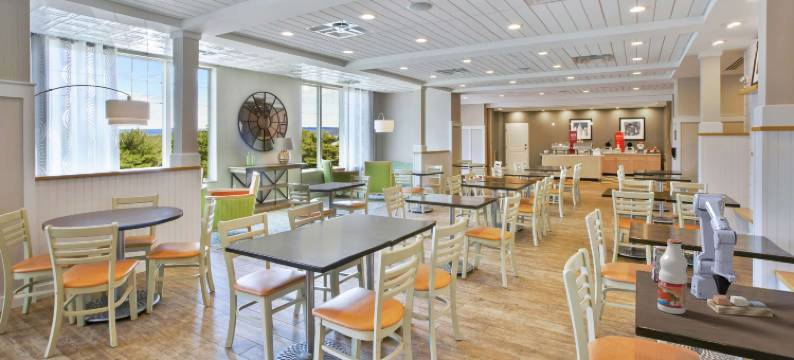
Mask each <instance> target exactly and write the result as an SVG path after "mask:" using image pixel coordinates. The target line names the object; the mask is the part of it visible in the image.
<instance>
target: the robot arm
mask: <svg viewBox="0 0 794 360" xmlns="http://www.w3.org/2000/svg"><path fill="white" fill-rule="evenodd" d="M723 205H724V197H723V195H722V194H720V193H712V194H711V193H695V194H694V195H693V197H692V209H693V213H694V214H696V215H697V216H698V219H699V228H700V230H699V231H700V241H701V253H700V254H698V255H697V256H696V257H695V259H694V261H695V263H694V270H695V273H696V274H694V275H692V276H691V287H690V293H691V294H692V295H693V296H695V297H696V298H697V299H700V300H707V299H713V295H724V296H726V295H727V294H728V293H727V292H728V289H729V288H730V287H731V286H730V285H732V283H736V282H737V277H736V276H735V275H736V274H737V272H735V271H733V269H734V267H733V266H734V253H735V250H734V249H735V246H736V245H737V243H738V233H737V231H736V230H735V229H733V228H731V226H730V223H729V220H728V219H727V218H726V217H725V216H723V213H722V207H723Z"/></svg>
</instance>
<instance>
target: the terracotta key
mask: <svg viewBox="0 0 794 360" xmlns="http://www.w3.org/2000/svg"><path fill="white" fill-rule="evenodd" d="M730 299H731V298H729V297H728V296H726V295H713V301H714V302H715V303H717V304H718V305H730Z"/></svg>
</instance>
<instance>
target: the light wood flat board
mask: <svg viewBox="0 0 794 360" xmlns="http://www.w3.org/2000/svg"><path fill="white" fill-rule="evenodd" d="M706 305H707V306H708V307H709V308H711V310H713V311H715V313H716V314H720V315H734V316H735V315H736V316H737V315H739V316H752V317H755V316H756V317H765V318H773V315H774V310H773V309H771V308H770V307H769V306H766V308H754V307H752V306H750V305H749V304H748V306H735V305H734V304H732V303H731V302H730V305H718V304H717V303H715V302H714V301H713V299H706Z"/></svg>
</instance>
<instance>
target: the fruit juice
mask: <svg viewBox="0 0 794 360" xmlns="http://www.w3.org/2000/svg"><path fill="white" fill-rule="evenodd" d="M666 244H667V246H666V247H667V249H666V251H665V253H664V254H663V255H662V257H661V258H660V265H661V270H660V272H659V282H657V285H658V288H657V308H658V310H659V311H661V312H665V313H668V314H673V315H682V314H685V312H686V310H687V307H686V306H687V289H688V274H687V268H688V260H687V258H686V257H685V255H684V253H682V250H683V249H682V244H683V241H682V240H681V239H676V238H667V240H666ZM681 249H682V250H681Z"/></svg>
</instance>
